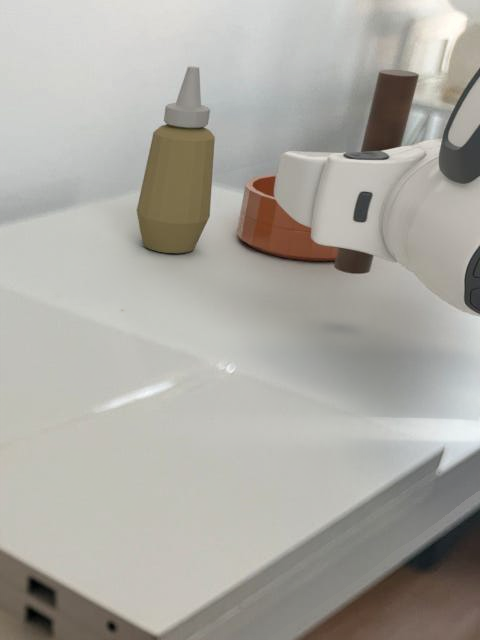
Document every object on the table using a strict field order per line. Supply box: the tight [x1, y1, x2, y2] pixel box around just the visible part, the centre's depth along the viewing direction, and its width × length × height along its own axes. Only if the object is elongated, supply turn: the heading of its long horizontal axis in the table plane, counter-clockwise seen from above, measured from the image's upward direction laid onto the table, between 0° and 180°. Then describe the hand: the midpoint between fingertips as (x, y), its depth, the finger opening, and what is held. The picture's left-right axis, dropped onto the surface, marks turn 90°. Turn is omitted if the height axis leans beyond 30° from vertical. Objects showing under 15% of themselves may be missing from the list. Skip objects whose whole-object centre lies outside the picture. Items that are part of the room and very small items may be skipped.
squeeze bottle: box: [136, 66, 216, 254], centre depth 111 cm, size 8×8×18 cm
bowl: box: [236, 173, 338, 262], centre depth 118 cm, size 15×15×6 cm
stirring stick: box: [333, 69, 420, 275], centre depth 90 cm, size 3×3×16 cm
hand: (372, 163), depth 90 cm, fingers closed on stirring stick, 3 cm apart
